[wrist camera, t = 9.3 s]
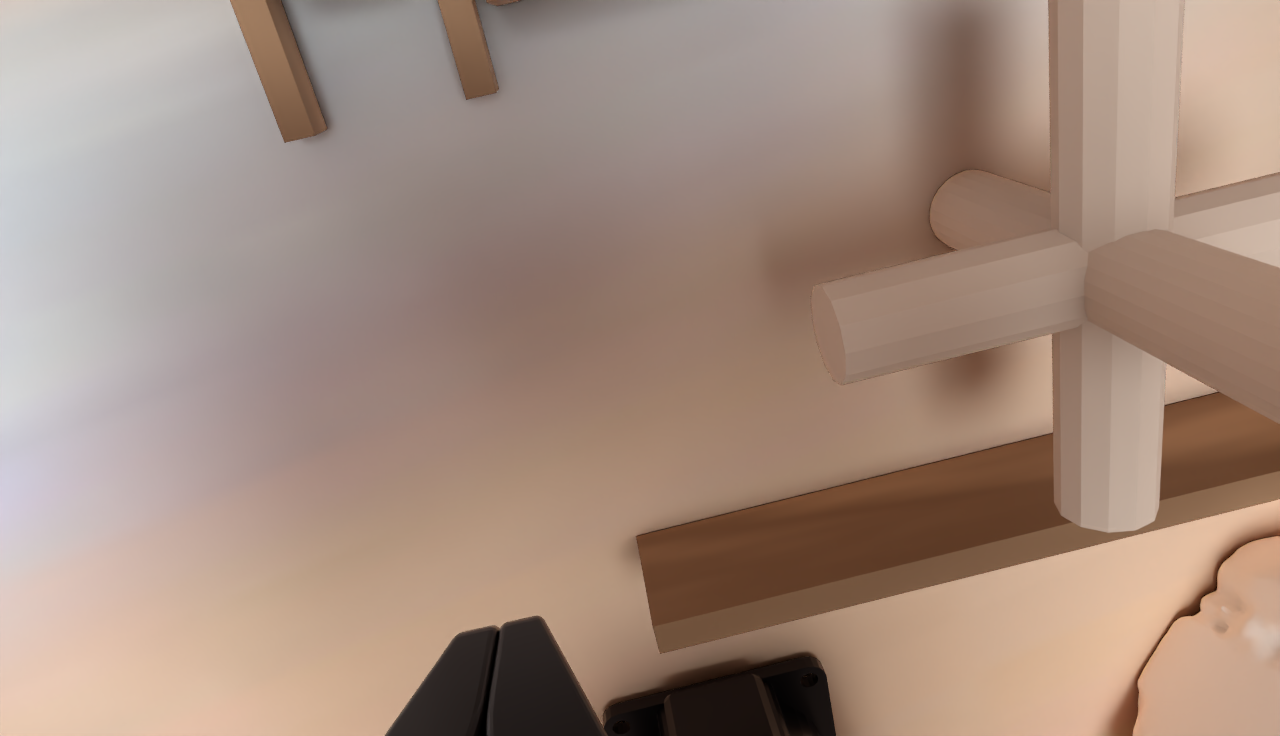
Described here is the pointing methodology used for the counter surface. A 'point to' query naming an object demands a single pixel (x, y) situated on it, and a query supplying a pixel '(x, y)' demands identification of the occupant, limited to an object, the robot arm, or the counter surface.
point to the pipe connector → (1089, 268)
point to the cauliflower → (1221, 657)
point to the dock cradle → (862, 511)
